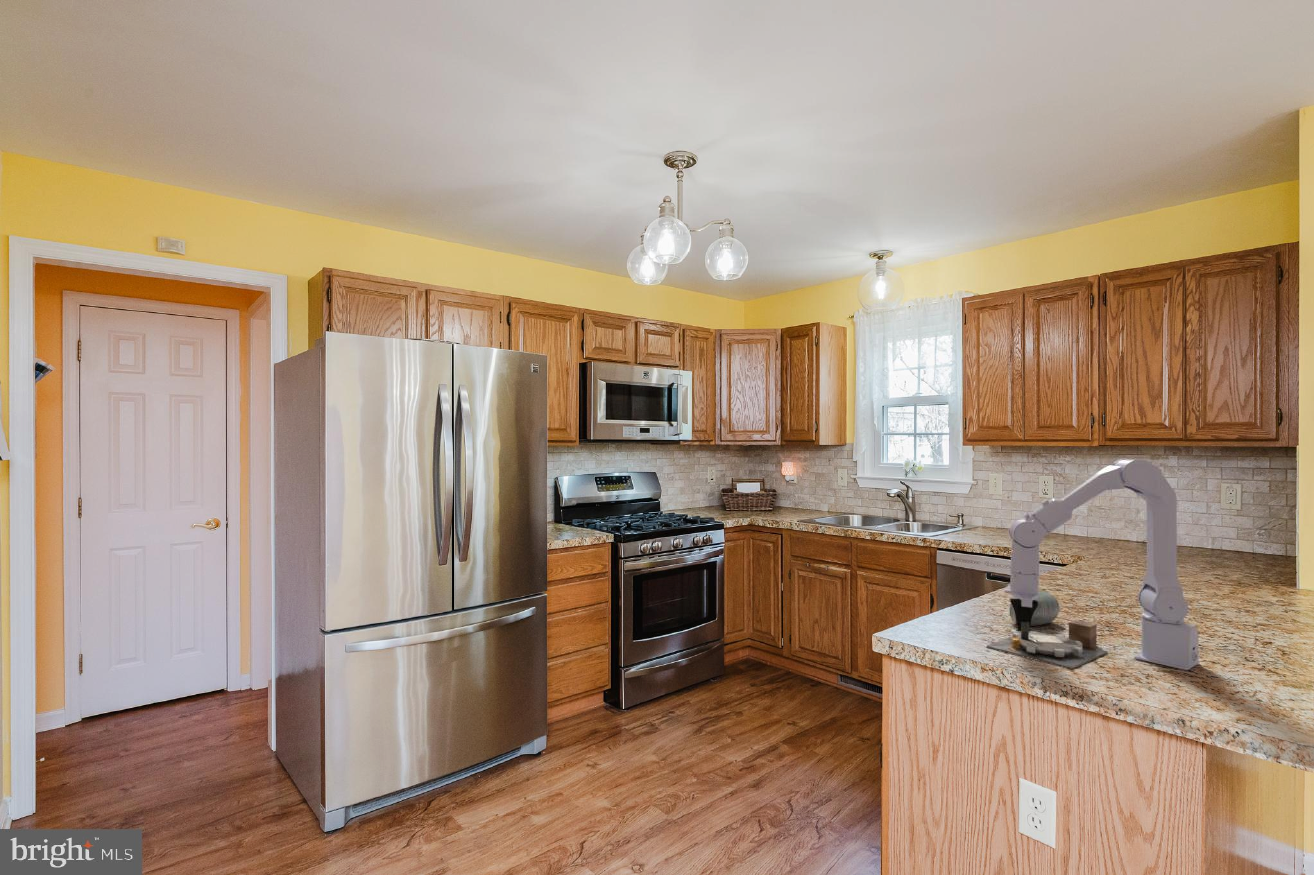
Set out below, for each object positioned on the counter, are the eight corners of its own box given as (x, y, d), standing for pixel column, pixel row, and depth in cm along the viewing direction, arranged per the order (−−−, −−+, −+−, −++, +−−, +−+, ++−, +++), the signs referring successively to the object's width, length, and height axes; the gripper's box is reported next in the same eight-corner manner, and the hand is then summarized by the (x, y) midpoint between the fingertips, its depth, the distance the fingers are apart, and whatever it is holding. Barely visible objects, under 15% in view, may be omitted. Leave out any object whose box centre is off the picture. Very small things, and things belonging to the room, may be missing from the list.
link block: (1096, 645, 153) (1096, 624, 153) (1090, 648, 151) (1090, 626, 151) (1075, 641, 157) (1075, 620, 157) (1068, 643, 155) (1068, 622, 155)
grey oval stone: (1031, 602, 181) (1041, 575, 176) (1063, 626, 173) (1074, 598, 168) (995, 619, 176) (1004, 591, 171) (1026, 644, 168) (1036, 615, 163)
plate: (1107, 653, 148) (1107, 650, 148) (1072, 669, 137) (1072, 667, 137) (1024, 634, 162) (1024, 631, 162) (986, 647, 152) (986, 645, 152)
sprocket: (1066, 639, 156) (1066, 615, 156) (1095, 659, 142) (1095, 633, 142) (1002, 636, 158) (1001, 613, 158) (1024, 655, 144) (1024, 629, 144)
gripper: (1003, 565, 160) (1001, 620, 160) (1007, 576, 147) (1005, 637, 147) (1036, 568, 157) (1035, 624, 157) (1043, 580, 144) (1041, 642, 144)
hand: (1023, 631), depth 152 cm, fingers closed, pressing on sprocket
